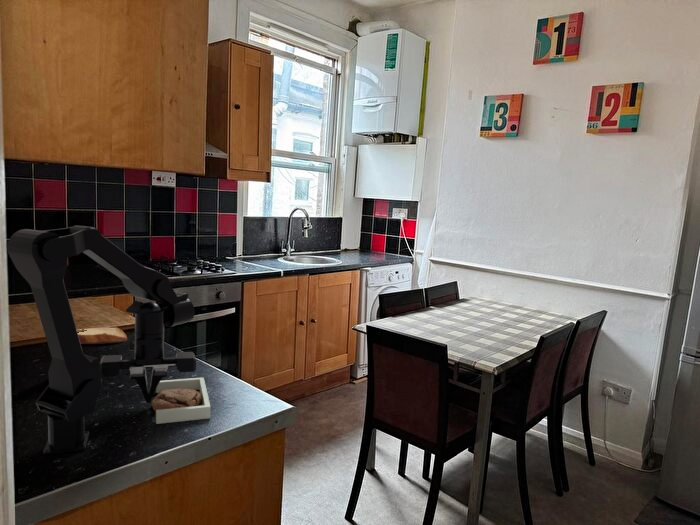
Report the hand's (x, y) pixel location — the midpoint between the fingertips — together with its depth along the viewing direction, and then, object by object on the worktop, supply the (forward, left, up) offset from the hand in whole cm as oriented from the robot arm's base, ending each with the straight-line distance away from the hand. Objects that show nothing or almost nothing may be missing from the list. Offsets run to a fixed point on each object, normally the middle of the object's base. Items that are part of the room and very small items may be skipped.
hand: (148, 402), depth 107 cm
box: (0, -7, -1) cm, 7 cm away
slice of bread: (+54, +18, -2) cm, 57 cm away
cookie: (0, -6, -2) cm, 6 cm away
